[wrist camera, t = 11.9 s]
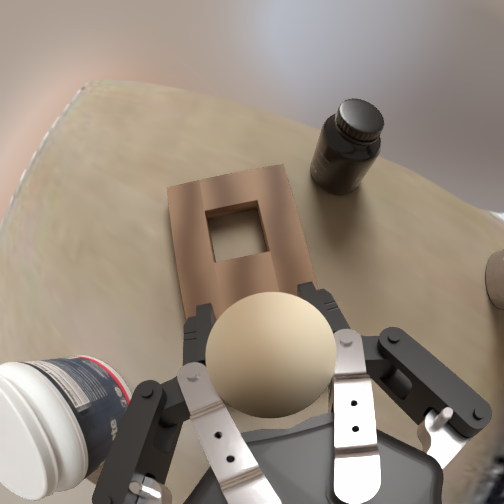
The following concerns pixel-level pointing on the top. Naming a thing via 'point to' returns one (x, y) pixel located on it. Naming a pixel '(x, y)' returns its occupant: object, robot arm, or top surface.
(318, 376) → the birch peg
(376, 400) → the top surface
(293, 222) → the walnut board
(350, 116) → the supplement bottle
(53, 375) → the supplement tub
